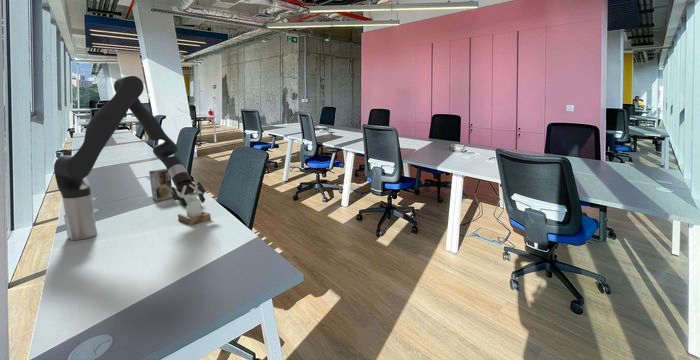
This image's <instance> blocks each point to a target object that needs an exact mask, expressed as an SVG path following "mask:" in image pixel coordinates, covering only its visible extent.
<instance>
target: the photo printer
mask: <svg viewBox="0 0 700 360" xmlns="http://www.w3.org/2000/svg"><path fill="white" fill-rule="evenodd" d="M192 182H193V184H196V182H194V181H192ZM195 188H196V187H195ZM176 192H177V194H178V196H180V194H181V193H180V192H178V191H176ZM194 192H195V190H194ZM183 198H184V199H185V201H186V200H189V199H190V195H189V194H188V195H184V196H183ZM195 198H196V199H198V196H197V195H195ZM177 203H179V204H181V202H180V201H179V200H177Z"/></svg>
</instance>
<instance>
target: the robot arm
mask: <svg viewBox="0 0 700 360" xmlns="http://www.w3.org/2000/svg"><path fill="white" fill-rule="evenodd" d="M113 88H114V91H115V94H114V95H113V97H112V98H110V100H109V101H107V102H106V103H105V104H104V105H103V106H102V107H100V108H99V109H98V110H97V111H96V112H95V114H94V115H93V116H92V117H91V119H90V120H89V122H88V123H87V125H86V128H85V133H84V138H83V139H84V140H83V142H82V144H81V146H80V147H79V149H78V150H77V151H76V152H75V154H73V155H62V156H59V157H58V158H57V159H56V160H55V162H54V165H53V171H54V176H55V181H56V186H57V189H58V191H59V192H60V194H61V198H62V203H63V209H64V213H65V214H64V215H63V217H64V218H63V219H64V224H65V230H66V236H67V239H69V238H70V239H69V240H71V241H78V240H79V241H81V240H85V239H89V238H92V237H94V236H97V235H98V234H97V233H98V231H97V226H96V219H95V212H94V204H93V205H92V201H93V198H92V199H91V195H92V191H91V192H90V188H91V187H90V188H89V187H88V186H87V185H86V184H85V183H84V182H83V178H87V177H88V175H90V173H91V171H92V169H93V168H94V166H95V164H96V161H97V159H98V157H99V156H100V154H101V153H102V151H103V149H104V148H105V147H106V145H107V144H108V142H109V140H110V139H111V138H112V136H113V135H114V134H115V132H116V130H117V129H118V128H119V126H120V123H121V122H122V121H123V119H124V117H125V116H126V114H127V113H128V111H129V110H130V111H131V113H132V114H133V115H134V117H135V118H136V119H137V121H138V122H139V123H140V125H141V127H142V129H143V130H144V132H145V133H146V135H147V136H148V138H149V139H150V141H152V142H154V141H159V140H161V141H163V142H161V143H158V144H156V145H154V146H153V148H152V152H153V154H154V156H155V157H156V158H157V159H158V160H159V161H160V162H162V163H163V165H164V167H165V169H167V170H168V172H169V175H170V177H171V182H172V183H173V185H174V186H172V188H171V190H170V191H171V194H172V196H173V197H172V198H173V200H174V202H175V201H176V202H177V201H178V200H179V201H180V202H181V203H180V204H181V206H182V207H184V208H186V206H187V203H186V201H185V199H184V198H183V196H184V195H188V194H189V193H190V192H194V190H195V195H197V197H198V199H199V200H200V202H201V204H204V203H205V201H206V198H205V196H204V195H205V193H206V190H205V187H204V186H203V185H202V183H201V182H197V183H195V184H193V182H194V181H193V180H192V178H191V176H190V174H189V173H188V171H187V169H186V168H185V166H184V165H183V163H182V161H181V159H180V157H178V156H177V155H175V154H177V153H178V151H179V149H178V146H177V144H176V143H175V142H174V141H173V140H172V139H171V138H170V137H169V136H168V135H167V134H166V132H165V131H164V130H163V128H162V126H161V124H160V123H159V121H158V119H157V118H156V117H155V116H154V115H153V114H152V113H151V112H150V111H149V110H148V109H147V108H146V107H145V106H144V104H143V103H142V102H141V100H140V99H139V98H140V96H141V95H142V94H143V92H144V89H145V88H144V83H143V81H142V79H141V78H140V77H138V76H136V75H126V76H123V77H119V78H118V79H116V80H115V81H114V84H113ZM195 187H196V188H195ZM177 191H178V192H180V193H181V194H180V196H178V194H177Z"/></svg>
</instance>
